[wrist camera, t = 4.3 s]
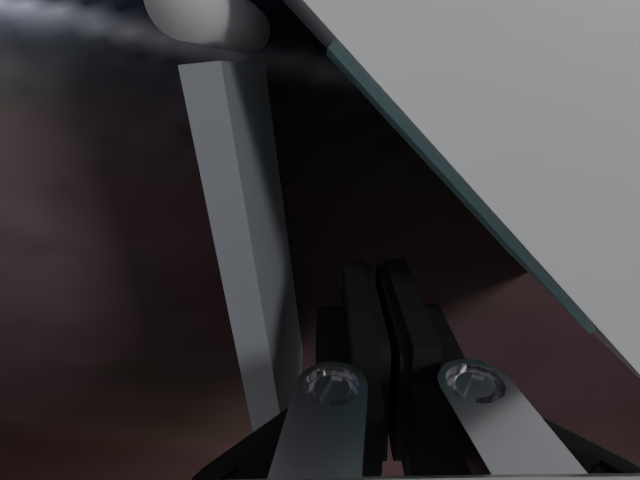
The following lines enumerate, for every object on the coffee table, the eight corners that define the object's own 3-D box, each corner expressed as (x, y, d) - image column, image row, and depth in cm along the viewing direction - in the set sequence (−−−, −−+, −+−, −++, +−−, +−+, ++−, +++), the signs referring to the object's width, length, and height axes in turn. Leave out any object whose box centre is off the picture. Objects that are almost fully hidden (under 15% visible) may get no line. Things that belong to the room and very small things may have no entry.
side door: (309, 348, 16) (302, 499, 10) (278, 350, 16) (254, 502, 10) (266, 3, 12) (215, -55, 6) (223, 7, 12) (133, -46, 6)
